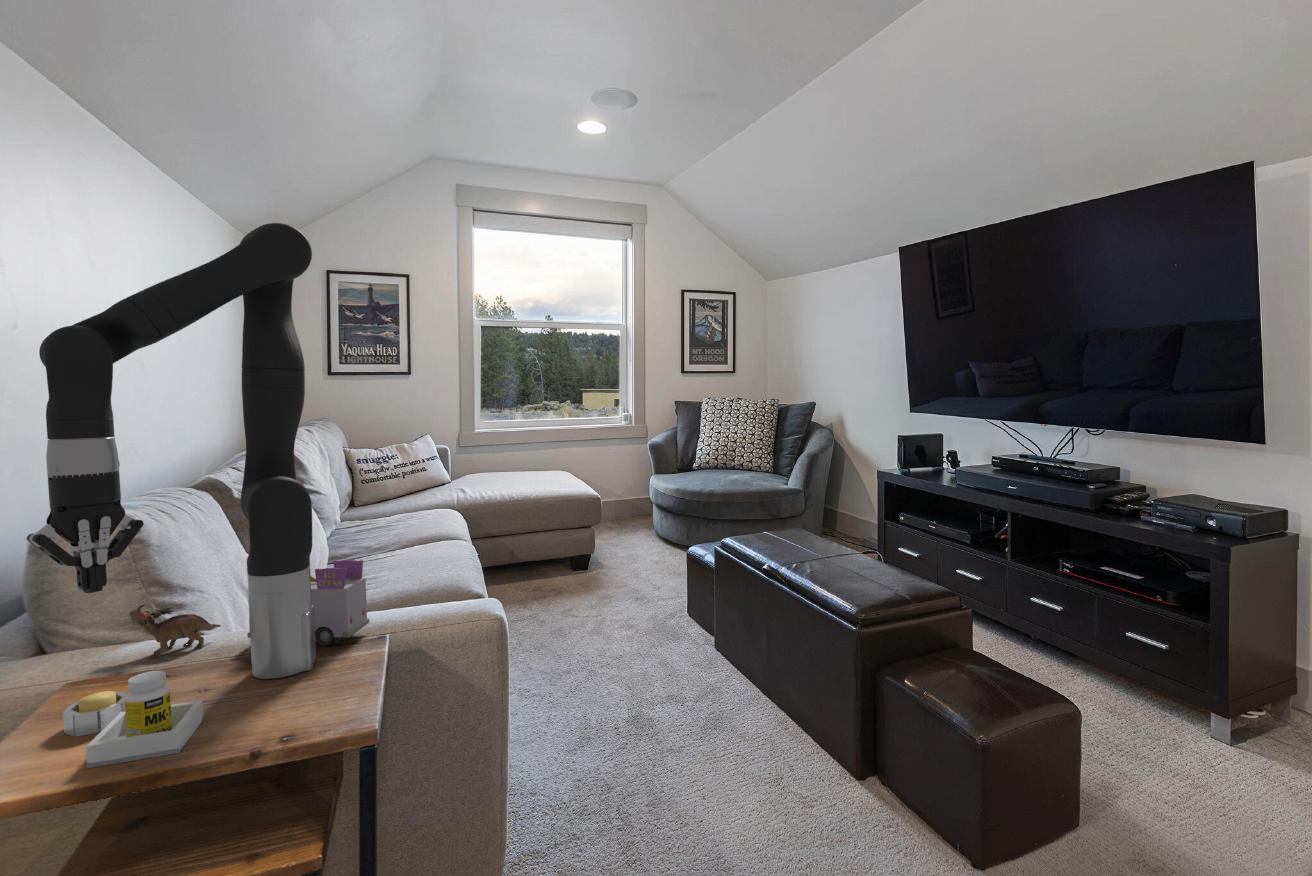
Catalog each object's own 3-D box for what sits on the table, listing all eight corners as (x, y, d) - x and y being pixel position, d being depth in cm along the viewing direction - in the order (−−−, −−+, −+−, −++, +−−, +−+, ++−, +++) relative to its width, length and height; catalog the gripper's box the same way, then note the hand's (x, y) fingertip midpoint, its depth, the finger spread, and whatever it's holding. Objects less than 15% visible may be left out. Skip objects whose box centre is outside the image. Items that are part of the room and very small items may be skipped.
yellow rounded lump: (122, 709, 93) (120, 689, 93) (109, 721, 89) (108, 700, 89) (88, 714, 92) (86, 693, 92) (73, 727, 88) (72, 705, 88)
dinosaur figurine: (129, 664, 112) (126, 612, 112) (131, 654, 117) (128, 604, 117) (222, 645, 121) (220, 597, 120) (221, 637, 125) (218, 590, 125)
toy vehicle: (276, 631, 128) (272, 558, 127) (371, 631, 127) (368, 557, 126) (245, 649, 119) (241, 569, 118) (347, 648, 118) (344, 569, 117)
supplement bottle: (146, 748, 82) (143, 685, 82) (117, 745, 83) (113, 682, 83) (181, 730, 87) (178, 670, 87) (153, 727, 88) (149, 668, 88)
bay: (203, 719, 91) (202, 700, 91) (179, 752, 82) (178, 731, 82) (121, 731, 88) (120, 712, 88) (87, 768, 79) (86, 746, 79)
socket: (138, 708, 95) (136, 689, 95) (117, 730, 89) (116, 709, 88) (81, 717, 93) (80, 697, 92) (55, 739, 86) (54, 718, 86)
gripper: (126, 465, 97) (133, 577, 98) (8, 474, 85) (18, 602, 86) (152, 466, 93) (160, 582, 94) (34, 476, 82) (44, 608, 83)
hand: (92, 591), depth 90 cm, fingers closed
